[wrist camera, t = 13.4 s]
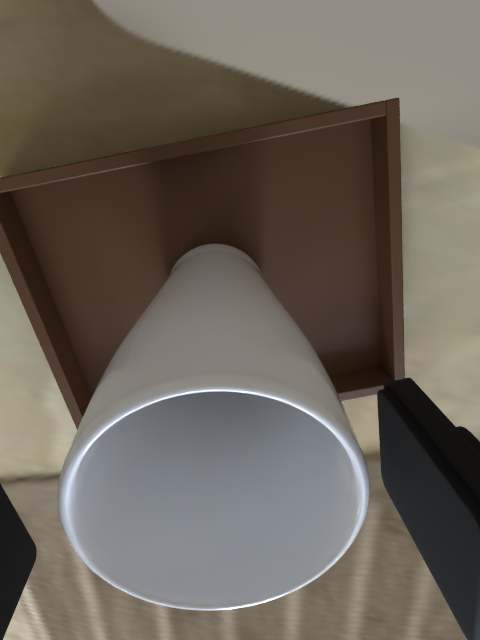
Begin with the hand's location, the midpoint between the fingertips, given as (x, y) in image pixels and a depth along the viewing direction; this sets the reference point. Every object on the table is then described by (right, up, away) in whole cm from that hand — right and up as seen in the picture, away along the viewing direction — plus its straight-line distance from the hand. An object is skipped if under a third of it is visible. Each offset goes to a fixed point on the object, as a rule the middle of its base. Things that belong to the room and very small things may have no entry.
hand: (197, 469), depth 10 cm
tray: (0, +6, +13) cm, 14 cm away
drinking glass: (0, +5, +13) cm, 14 cm away
